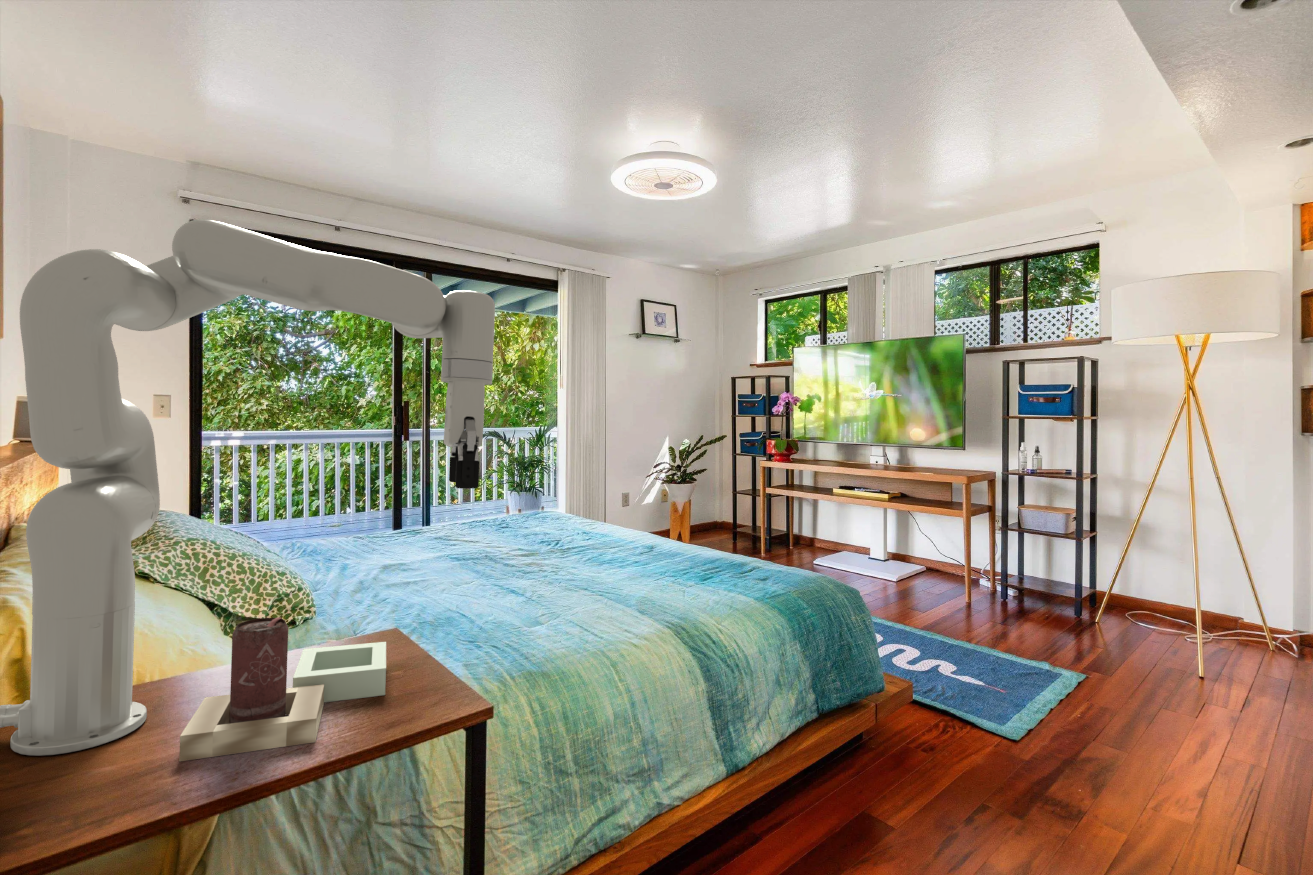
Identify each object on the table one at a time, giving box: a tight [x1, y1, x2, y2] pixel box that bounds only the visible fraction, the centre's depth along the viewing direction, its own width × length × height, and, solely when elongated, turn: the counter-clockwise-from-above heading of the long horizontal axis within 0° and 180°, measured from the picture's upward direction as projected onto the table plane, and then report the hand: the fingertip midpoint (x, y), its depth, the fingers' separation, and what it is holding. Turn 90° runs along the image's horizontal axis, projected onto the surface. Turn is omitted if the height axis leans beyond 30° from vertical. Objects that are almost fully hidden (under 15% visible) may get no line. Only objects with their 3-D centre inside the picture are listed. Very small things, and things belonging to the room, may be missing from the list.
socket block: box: [178, 684, 325, 762], centre depth 81 cm, size 14×11×3 cm
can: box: [229, 617, 289, 724], centre depth 81 cm, size 6×6×14 cm
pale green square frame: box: [292, 641, 387, 703], centre depth 96 cm, size 12×12×4 cm
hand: (463, 484), depth 96 cm, fingers open, 9 cm apart
